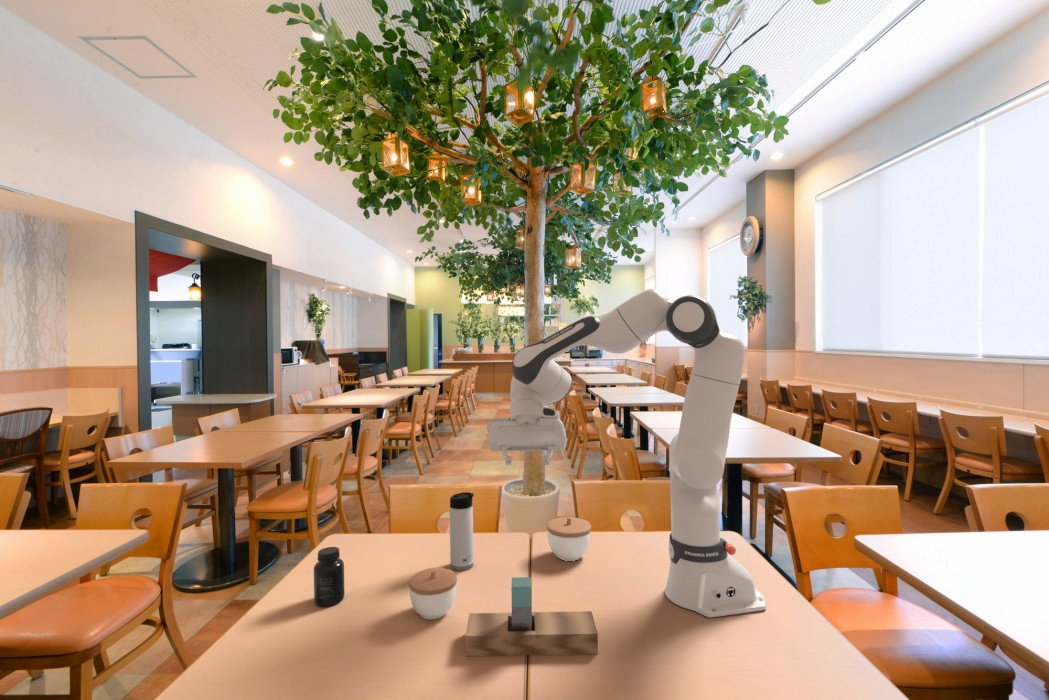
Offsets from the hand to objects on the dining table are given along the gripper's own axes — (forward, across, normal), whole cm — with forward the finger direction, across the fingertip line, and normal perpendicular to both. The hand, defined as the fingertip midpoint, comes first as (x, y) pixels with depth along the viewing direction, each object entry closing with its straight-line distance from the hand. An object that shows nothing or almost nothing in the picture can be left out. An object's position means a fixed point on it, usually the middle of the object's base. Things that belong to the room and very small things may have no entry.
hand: (527, 463), depth 121 cm
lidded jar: (+29, -22, +16) cm, 40 cm away
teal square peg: (+37, -2, +7) cm, 38 cm away
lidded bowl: (+9, +12, +36) cm, 39 cm away
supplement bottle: (+25, -48, +20) cm, 58 cm away
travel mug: (+13, -18, +32) cm, 39 cm away
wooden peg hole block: (+37, 0, +7) cm, 38 cm away
